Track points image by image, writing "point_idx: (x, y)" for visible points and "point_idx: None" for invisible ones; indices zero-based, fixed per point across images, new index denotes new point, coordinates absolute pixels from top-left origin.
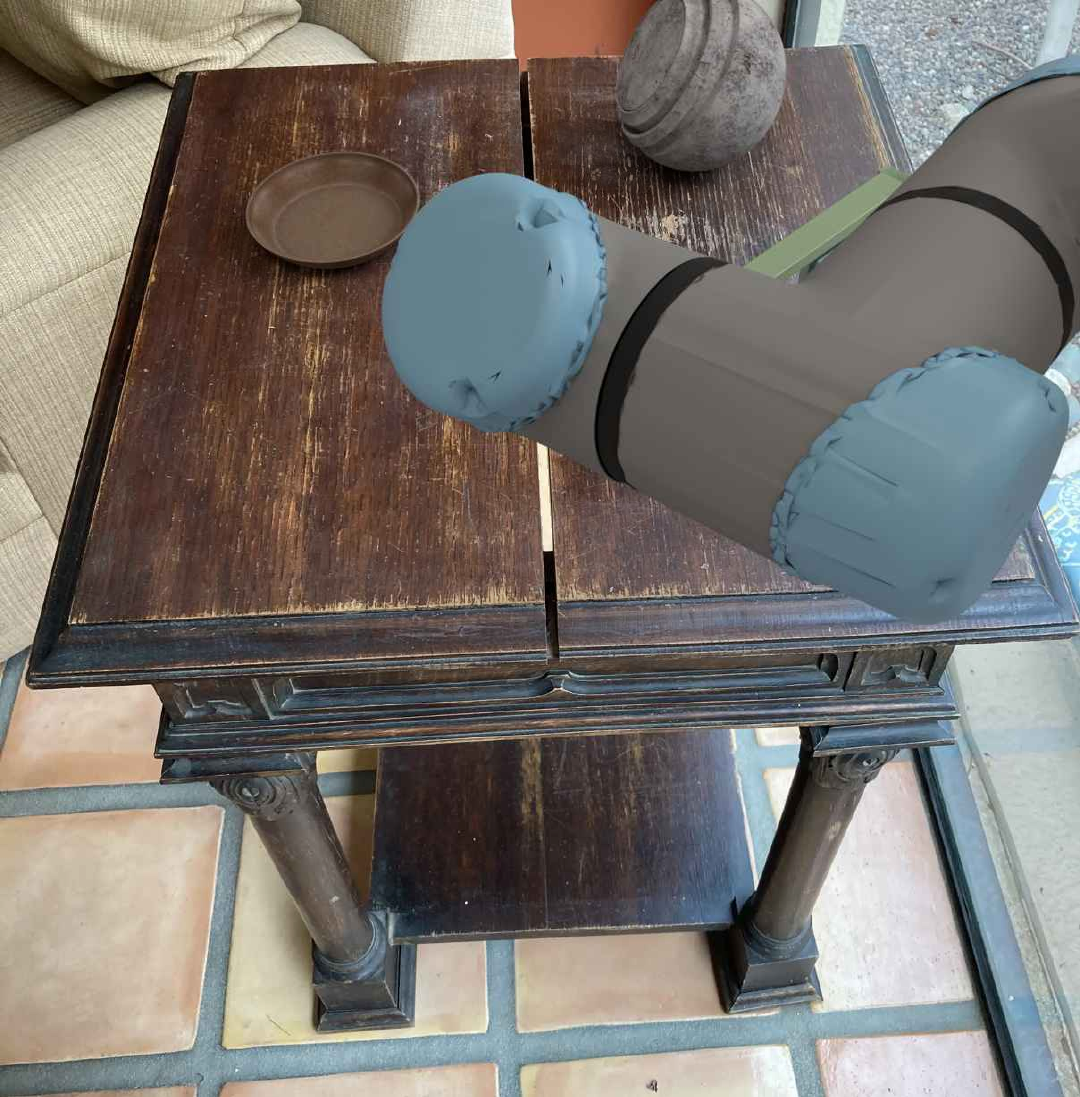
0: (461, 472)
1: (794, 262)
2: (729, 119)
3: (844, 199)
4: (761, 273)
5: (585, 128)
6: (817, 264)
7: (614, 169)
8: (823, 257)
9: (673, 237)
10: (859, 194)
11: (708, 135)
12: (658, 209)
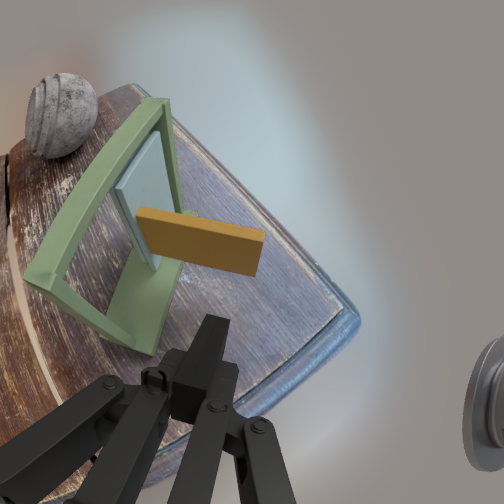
0: (23, 405)
1: (85, 209)
2: (69, 123)
3: (118, 130)
4: (58, 239)
5: (27, 159)
6: (116, 190)
7: (38, 171)
8: (119, 182)
9: (67, 190)
10: (129, 122)
11: (63, 135)
12: (59, 179)
